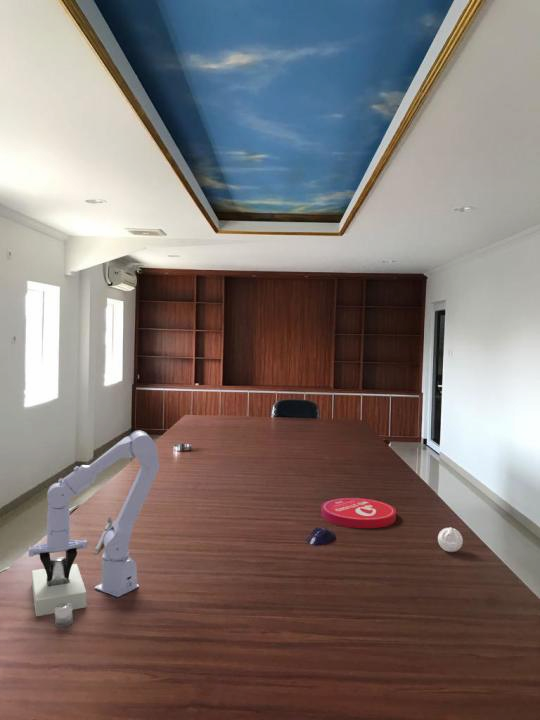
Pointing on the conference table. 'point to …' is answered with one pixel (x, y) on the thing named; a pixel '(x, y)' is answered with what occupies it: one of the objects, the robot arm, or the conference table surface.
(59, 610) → the short pin
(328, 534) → the computer mouse
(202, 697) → the conference table surface
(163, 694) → the conference table surface
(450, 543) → the white ball
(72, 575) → the pin board
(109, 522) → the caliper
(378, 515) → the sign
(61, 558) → the tall pin
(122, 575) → the robot arm
